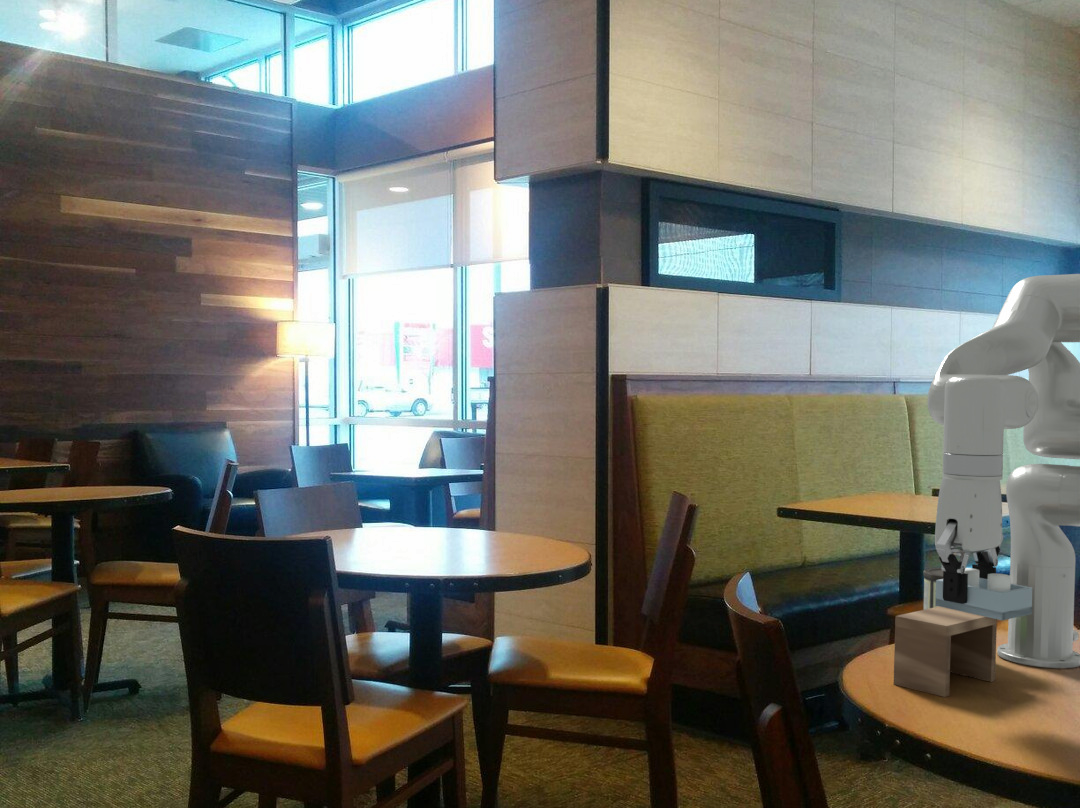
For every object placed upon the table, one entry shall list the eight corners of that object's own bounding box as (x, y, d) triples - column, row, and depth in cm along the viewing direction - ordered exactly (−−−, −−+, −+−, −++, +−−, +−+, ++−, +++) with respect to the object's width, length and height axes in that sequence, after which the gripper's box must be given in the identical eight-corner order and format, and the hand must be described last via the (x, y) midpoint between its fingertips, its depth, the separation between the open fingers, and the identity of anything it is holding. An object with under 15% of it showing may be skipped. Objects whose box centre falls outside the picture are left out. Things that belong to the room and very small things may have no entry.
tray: (964, 599, 149) (965, 564, 149) (1031, 614, 141) (1032, 576, 141) (935, 605, 146) (936, 569, 146) (1002, 620, 138) (1003, 581, 137)
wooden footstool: (944, 669, 166) (946, 604, 166) (995, 680, 160) (997, 613, 160) (893, 684, 156) (895, 616, 156) (944, 697, 150) (946, 626, 150)
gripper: (977, 462, 153) (974, 586, 154) (912, 468, 142) (909, 601, 142) (1030, 466, 147) (1026, 595, 148) (966, 472, 136) (963, 611, 137)
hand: (969, 597), depth 145 cm, fingers closed on tray, 7 cm apart
